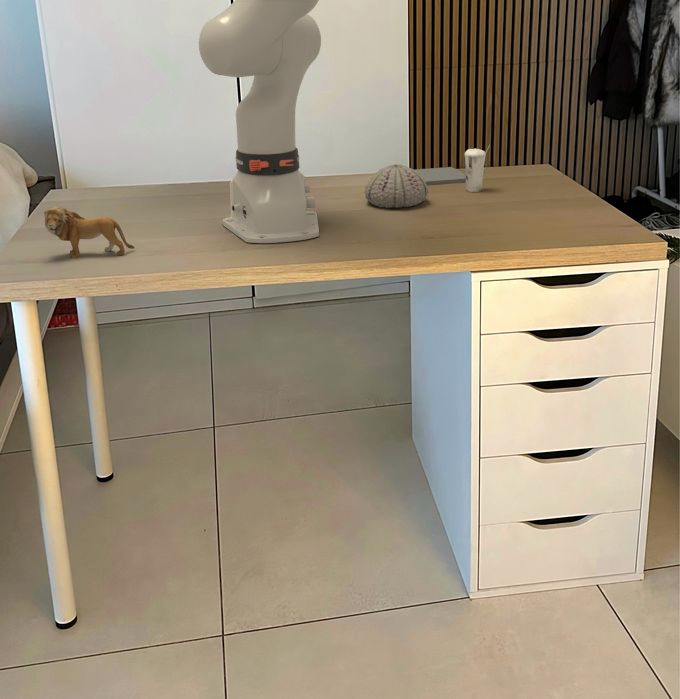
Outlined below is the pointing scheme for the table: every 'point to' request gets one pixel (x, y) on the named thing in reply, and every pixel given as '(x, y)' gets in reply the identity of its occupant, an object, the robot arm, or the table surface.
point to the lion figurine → (83, 229)
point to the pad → (441, 175)
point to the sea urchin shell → (396, 187)
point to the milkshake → (474, 169)
